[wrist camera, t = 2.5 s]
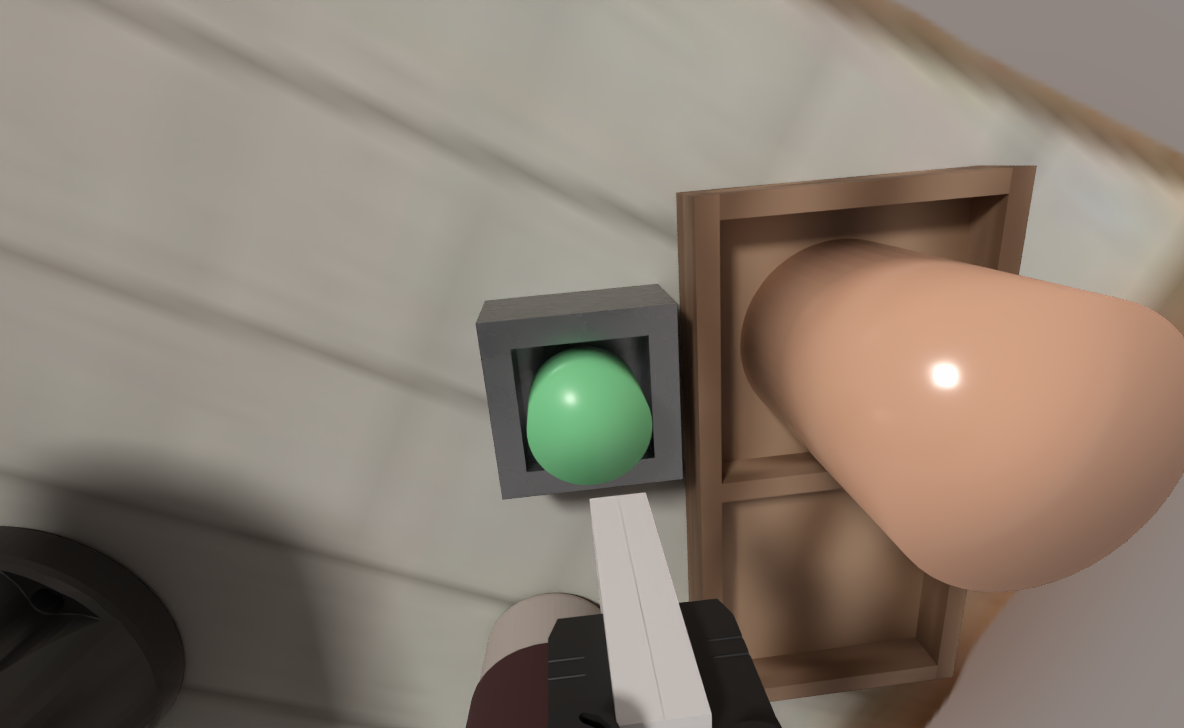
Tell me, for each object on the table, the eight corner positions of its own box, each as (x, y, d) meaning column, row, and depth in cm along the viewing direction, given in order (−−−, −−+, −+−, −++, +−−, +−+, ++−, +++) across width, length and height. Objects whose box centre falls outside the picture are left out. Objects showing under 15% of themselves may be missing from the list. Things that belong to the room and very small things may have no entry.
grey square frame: (507, 456, 29) (502, 499, 25) (485, 300, 26) (475, 323, 23) (664, 438, 30) (682, 478, 26) (657, 284, 27) (676, 303, 23)
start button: (535, 455, 26) (534, 491, 23) (521, 352, 24) (519, 377, 21) (642, 443, 26) (655, 477, 23) (636, 340, 24) (649, 364, 21)
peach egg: (739, 432, 28) (870, 609, 17) (740, 248, 25) (899, 314, 14) (916, 412, 29) (1158, 572, 18) (937, 229, 26) (1244, 279, 15)
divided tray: (691, 662, 35) (705, 710, 32) (676, 192, 26) (694, 196, 23) (917, 633, 35) (952, 676, 32) (980, 165, 26) (1036, 165, 23)
